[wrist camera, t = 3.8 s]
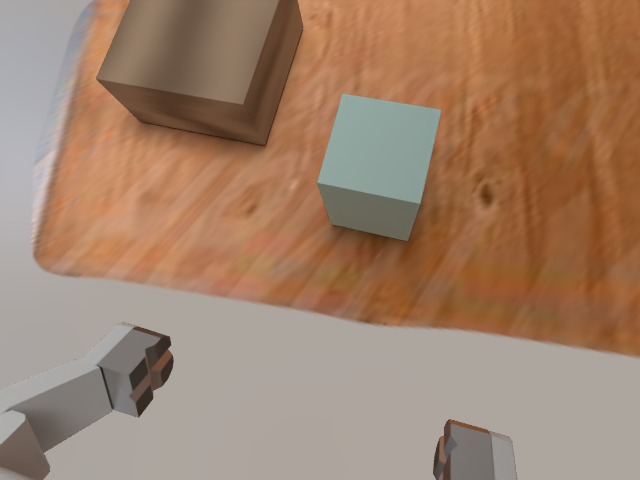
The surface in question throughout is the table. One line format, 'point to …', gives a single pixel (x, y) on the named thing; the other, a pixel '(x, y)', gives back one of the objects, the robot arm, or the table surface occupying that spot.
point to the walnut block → (204, 63)
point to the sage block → (377, 165)
